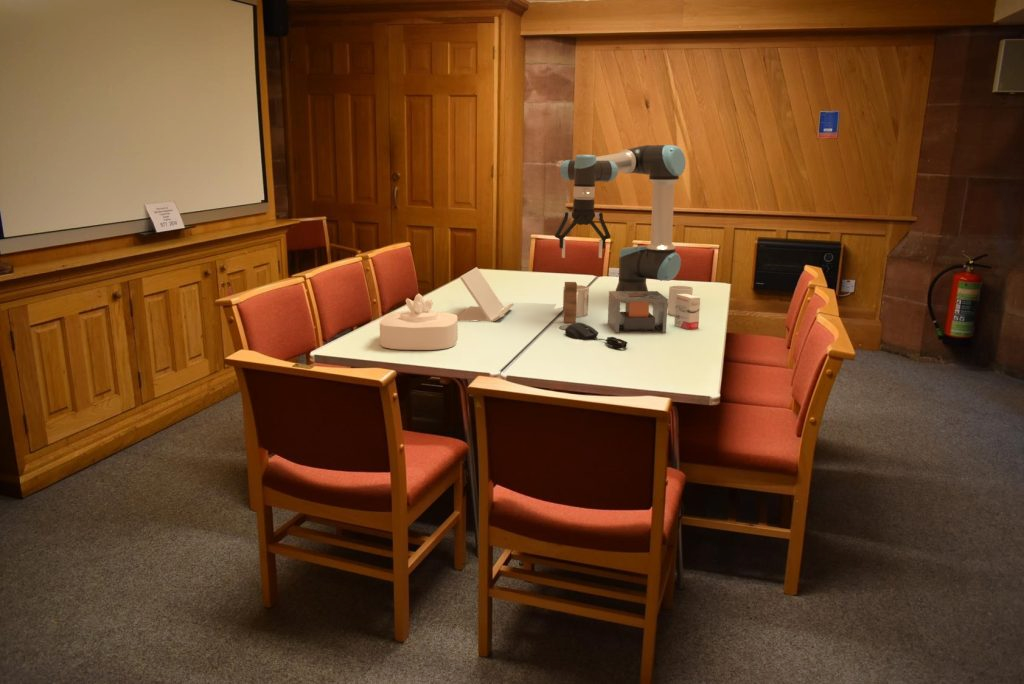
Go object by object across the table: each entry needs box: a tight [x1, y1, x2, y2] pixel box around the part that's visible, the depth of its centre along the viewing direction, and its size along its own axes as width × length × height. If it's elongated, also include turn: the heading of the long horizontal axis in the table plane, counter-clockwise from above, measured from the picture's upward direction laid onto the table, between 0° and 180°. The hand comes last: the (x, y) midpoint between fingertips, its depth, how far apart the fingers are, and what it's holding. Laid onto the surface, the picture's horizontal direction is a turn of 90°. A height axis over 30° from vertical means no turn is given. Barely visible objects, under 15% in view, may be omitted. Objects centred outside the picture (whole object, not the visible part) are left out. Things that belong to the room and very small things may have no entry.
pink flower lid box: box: [379, 293, 459, 351], centre depth 259 cm, size 25×25×16 cm
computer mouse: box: [564, 322, 628, 349], centre depth 262 cm, size 8×28×5 cm, turn 41°
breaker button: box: [624, 302, 650, 317], centre depth 280 cm, size 7×7×6 cm
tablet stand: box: [457, 266, 514, 322], centre depth 301 cm, size 18×25×17 cm
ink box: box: [674, 294, 701, 331], centre depth 284 cm, size 8×5×12 cm, turn 26°
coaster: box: [558, 324, 570, 331], centre depth 281 cm, size 8×8×1 cm
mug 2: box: [667, 285, 694, 317], centre depth 306 cm, size 12×9×11 cm
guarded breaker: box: [607, 290, 669, 334], centre depth 281 cm, size 16×18×12 cm
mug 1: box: [562, 284, 590, 318], centre depth 302 cm, size 10×12×11 cm
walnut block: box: [563, 281, 578, 325], centre depth 289 cm, size 4×4×15 cm
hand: (581, 257), depth 284 cm, fingers open, 13 cm apart
